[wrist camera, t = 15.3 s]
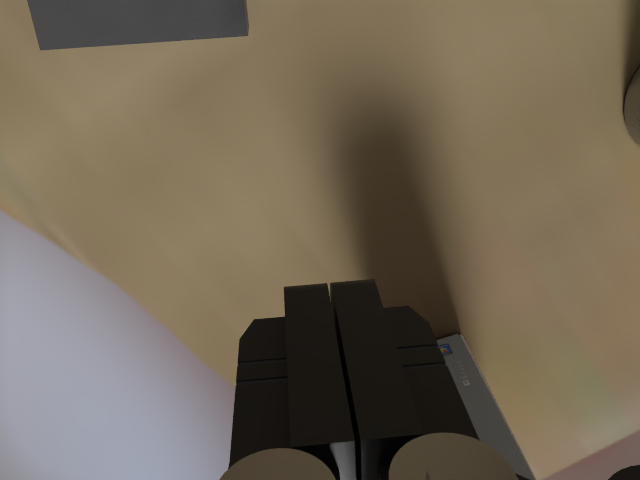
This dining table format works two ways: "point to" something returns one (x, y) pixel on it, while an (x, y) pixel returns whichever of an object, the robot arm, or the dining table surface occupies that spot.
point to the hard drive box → (482, 403)
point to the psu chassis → (134, 21)
